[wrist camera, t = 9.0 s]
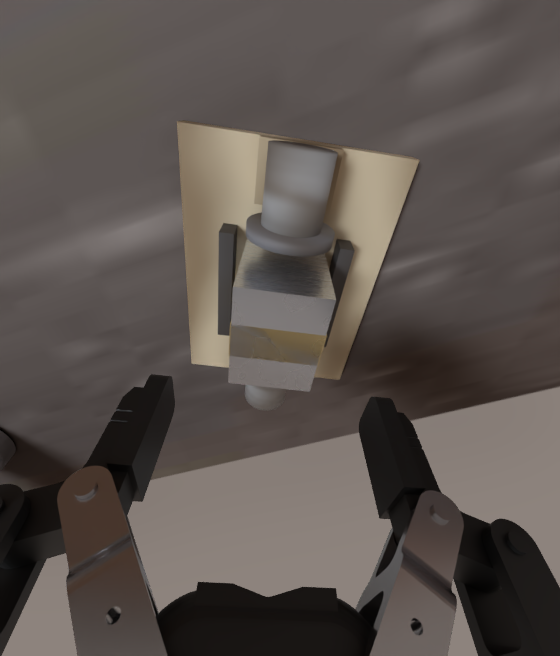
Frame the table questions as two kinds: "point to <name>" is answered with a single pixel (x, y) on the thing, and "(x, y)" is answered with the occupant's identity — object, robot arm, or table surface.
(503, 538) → the robot arm
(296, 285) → the block
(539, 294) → the table surface
